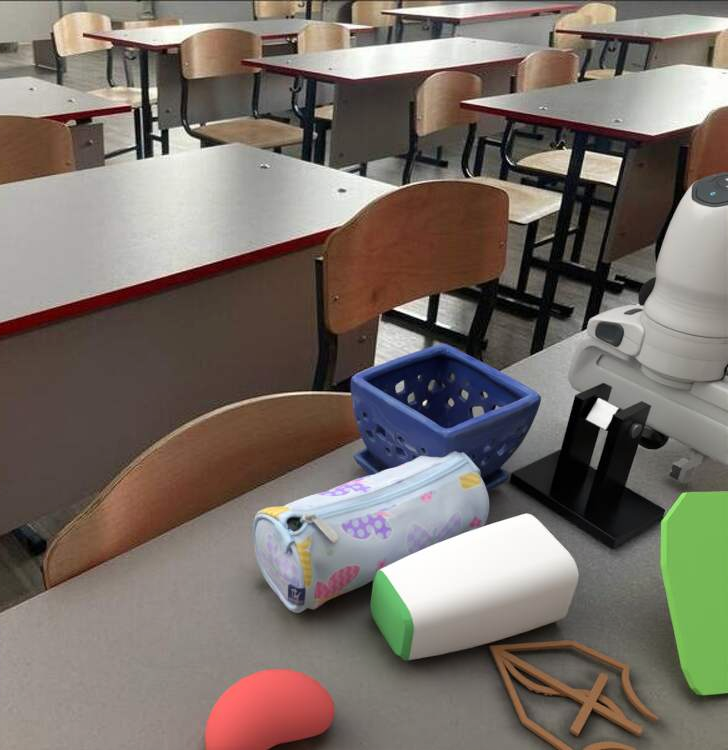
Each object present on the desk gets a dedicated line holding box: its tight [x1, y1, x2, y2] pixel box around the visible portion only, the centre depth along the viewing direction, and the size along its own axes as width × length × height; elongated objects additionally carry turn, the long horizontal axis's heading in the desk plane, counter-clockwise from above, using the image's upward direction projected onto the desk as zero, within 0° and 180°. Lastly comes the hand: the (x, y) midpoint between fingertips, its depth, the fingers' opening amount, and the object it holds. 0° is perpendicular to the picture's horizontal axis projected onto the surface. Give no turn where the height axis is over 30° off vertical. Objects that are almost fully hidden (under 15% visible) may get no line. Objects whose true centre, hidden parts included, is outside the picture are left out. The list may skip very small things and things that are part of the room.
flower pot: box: [350, 343, 542, 493], centre depth 79 cm, size 13×13×12 cm
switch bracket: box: [509, 383, 666, 550], centre depth 77 cm, size 8×12×12 cm, turn 33°
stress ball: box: [204, 668, 336, 750], centre depth 55 cm, size 5×9×6 cm
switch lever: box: [586, 398, 670, 451], centre depth 78 cm, size 14×3×3 cm, turn 124°
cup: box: [370, 513, 580, 662], centre depth 64 cm, size 7×7×15 cm
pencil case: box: [252, 451, 490, 614], centre depth 69 cm, size 21×9×10 cm, turn 118°
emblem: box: [489, 639, 659, 750], centre depth 60 cm, size 12×10×1 cm
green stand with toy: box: [660, 490, 728, 696], centre depth 65 cm, size 15×15×6 cm
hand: (646, 460), depth 84 cm, fingers open, 6 cm apart
